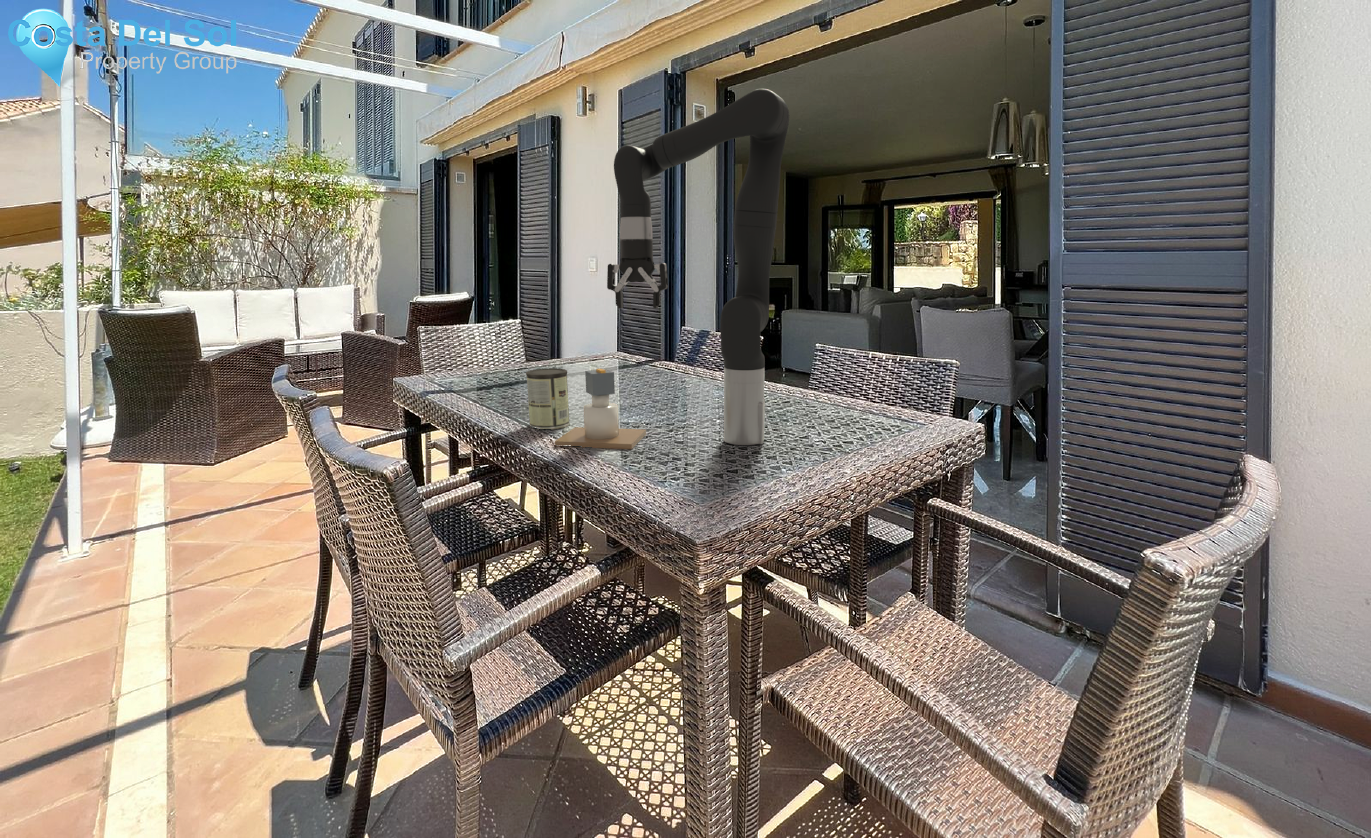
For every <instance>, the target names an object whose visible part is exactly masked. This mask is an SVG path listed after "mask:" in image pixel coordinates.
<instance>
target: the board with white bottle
mask: <svg viewBox="0 0 1371 838" xmlns="http://www.w3.org/2000/svg"><path fill="white" fill-rule="evenodd" d="M583 422H584V423H583V424H584V426H583V427H579V426H577V427H573V428H572V429H570V430H568V431H567V432H566V433H565V434H563V435H561V436H560V437H559V438H558V439H556V440H555V441H554V446H555V445H571V446H582V447H581V448H585V447H592V448H593V449H611V450H612V449H616V450H632V449H634V448H635V447H636V445H638V443H639V442H640V441H641V440H642V439H644V437H645V436H646V435H647V429H644V428H643V429H641V428H640V429H638V428H620V426H619V404H617V403H613V402H610V394H607V395H597V396H593V395H591V403H588V404H584V405H583ZM592 448H591V449H592Z"/></svg>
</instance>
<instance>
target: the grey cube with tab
mask: <svg viewBox="0 0 1371 838" xmlns="http://www.w3.org/2000/svg"><path fill="white" fill-rule="evenodd" d="M584 373H585V374H584V375H585V393H587V394H588V395H591V396H592V395H593V396H597V395H607V394H609V395H615V394H616V393H615V391H616V390H615V387H616V386H615V385H616V384H615V372H614V371H611V370H609V369H607V368H606V369H604V368H596V369H594V370H593V369H591V370H585V371H584Z"/></svg>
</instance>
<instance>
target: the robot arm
mask: <svg viewBox="0 0 1371 838" xmlns="http://www.w3.org/2000/svg"><path fill="white" fill-rule="evenodd" d="M789 122H790V111H789V107H788V104H787V103H786V101H785V100H784V99H783V98H782V97H780V96H779V95H778V94H777V93H775V92H774V91H772V90H771V89H767V88H757V89H754V90H752V91H749V92H748V93H747V94H744V95H743V96H741V97H739V98H738V99H737V100H735V101H732V103H730V104H729V105H727V106H724V107H723V108H721V109H720V110H717V111H716V112H714V113H711V114H710V115H708V116H705V117H704V118H701V119H700V120H697V121H694V122H693V123H690V124H688V125H685V126H682V127H680V128H676V129H673V130H672V131H669V132H666V133H665V134H661V135H659V136H658V137H656V138H655V139H654V140H653V142H652V144H649V145H648V146H645V147H638V146H634V145H630V144H628V145H623V146H621V147H619V149H618V150H617V152H616V154H615V156H614V161H613V171H614V173H613V174H614V178H615V182H616V188H617V191H618V194H619V198H620V199H619V200H620V222H619V223H620V225H619V238H620V239H619V241H620V264H615V263H609V264H607V277H606V278H607V279H606V281H607V282H606V283H607V284H606V288H607V290H610V291H612V292H614V293H615V305H616V306H617V307H618V309H624V292H623V290H624V288H625V287H626V285H628V283H645V282H646V283H647V285H648V286H650V287H651V289H652V290H653V292H652V300H653V301H652V304H653V306H652V307H653V309H658V308H659V307H660V306H661V304H662V303H661V294H662V293H661V292H662V291H664V290H667V289H668V288H669V279H668V266H667V263H665V262H664V263H663V262H662V263H661V262H660V263H657V264H655V262H654V248H653V247H654V246H653V245H654V244H653V243H654V240H653V223H652V207H651V206H652V202H651V200H652V199H651V196H650V194H649V193H648V191H646V189H645V186H644V181H646V180H650V179H652V178H655V177H656V176H658V175H659V174H661V173H663V172H665V171H666V170H668V169H669V168H673V167H676V166H679V165H681V164H684V163H686V162H689V161H692V160H695V159H697V158H698V157H700V156H702V155H704V154H705V153H707V152H709V151H710V150H711V149H714V148H715V147H716V146H718V145H720V144H721V145H722V143H725V142H727V141H731V140H734V139H737V138H743V137H749V152H748V164H747V167H746V171H745V174H744V177H743V180H742V182H741V185H740V188H739V191H738V194H737V197H736V201H735V207H734V208H735V209H734V210H735V211H734V219H733V242H734V243H733V246H734V251H735V255H736V257H735V258H736V262H737V273H738V275H737V283H736V284H737V285H736V290H735V297H733V298H731V299H729V300H728V301H727V302H726V303H725V304H724V305H723V308H722V310H721V313H720V321H719V323H720V325H719V326H720V327H719V328H720V331H719V332H720V351H721V356H722V359H723V441H724V442H725V443H727V444H731V445H735V446H753V445H762V444H764V440H765V431H766V430H765V429H766V428H765V424H766V423H765V421H766V420H765V417H766V399H765V373H766V371H765V369H766V368H765V367H766V366H765V365H766V363H765V362H766V361H765V360H766V359H765V355H764V353H763V351H762V346H761V345H762V344H761V343H762V342H761V332H763V330H764V329H765V328H766V326H767V325H768V322H769V318H770V274H771V273H770V272H771V266H772V261H773V260H772V259H773V256H774V255H773V254H774V245H775V239H776V238H775V236H776V230H777V223H778V222H777V221H778V210H779V209H778V208H779V195H780V186H781V185H780V183H781V182H780V181H781V166H782V161H783V155H784V150H785V144H786V138H787V136H788V135H787V134H788V129H789V124H790V123H789ZM655 270H656V272H657V273H658V274H659V277H660V279H659V280H660V284H658V282H657V280H656V279H655V278H654V277H653V275H652V274H653V273H654V272H655ZM618 271H620V272H621V273H622V277H621V278H620V279H619V280H618V281H619V282H618V283H617V284H616V274H617V273H618Z"/></svg>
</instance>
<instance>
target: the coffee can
mask: <svg viewBox="0 0 1371 838" xmlns="http://www.w3.org/2000/svg"><path fill="white" fill-rule="evenodd" d="M525 376H526V384H527V385H526V387H527V402H528V415H529V417H528V418H529V427H530V426H533V427H536V428H540V429H551V430H559V429H565V428H566V427H569V426H570V410H569V409H570V408H569V388H568V370H567V369H565V368H564V369H563V368H554V367H553V368H550V367H549V368H547V367H546V368H537V369H531V370H528V371H526V372H525Z"/></svg>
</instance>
